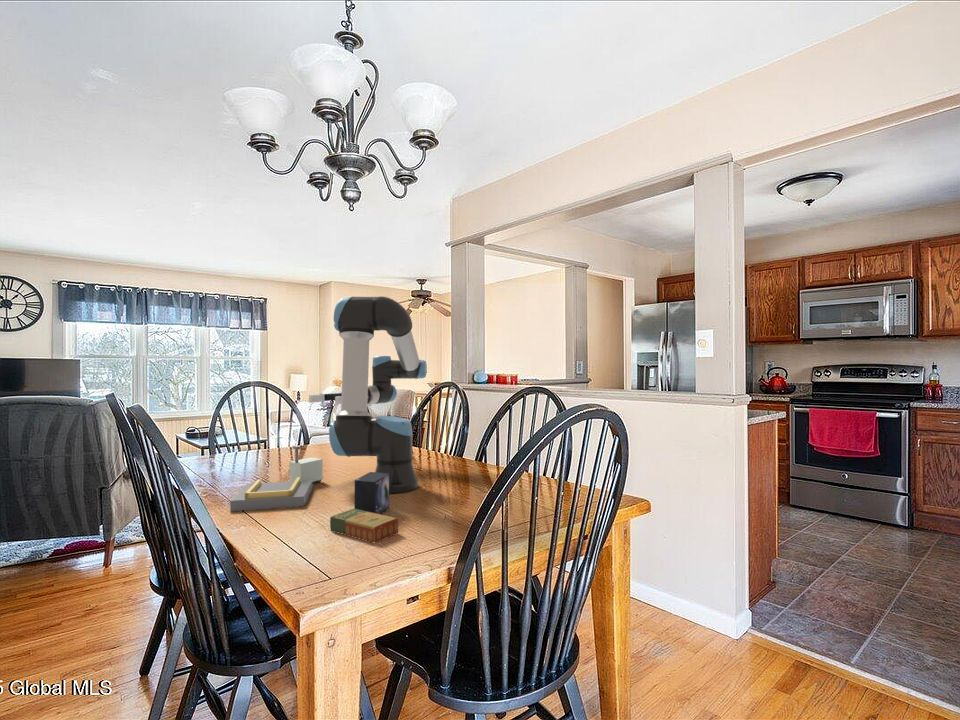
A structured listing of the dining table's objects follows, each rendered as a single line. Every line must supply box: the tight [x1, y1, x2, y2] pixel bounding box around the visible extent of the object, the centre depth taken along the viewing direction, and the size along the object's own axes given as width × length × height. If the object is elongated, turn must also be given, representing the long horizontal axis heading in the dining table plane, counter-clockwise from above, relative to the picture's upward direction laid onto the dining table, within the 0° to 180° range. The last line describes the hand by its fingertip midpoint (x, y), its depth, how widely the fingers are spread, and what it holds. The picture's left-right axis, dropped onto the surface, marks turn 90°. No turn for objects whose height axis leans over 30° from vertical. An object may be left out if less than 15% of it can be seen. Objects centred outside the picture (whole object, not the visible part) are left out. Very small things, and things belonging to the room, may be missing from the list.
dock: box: [229, 477, 313, 512], centre depth 159 cm, size 20×20×4 cm
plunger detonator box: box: [288, 445, 324, 484], centre depth 178 cm, size 6×9×14 cm, turn 146°
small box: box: [353, 471, 390, 515], centre depth 144 cm, size 11×6×10 cm, turn 168°
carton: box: [329, 508, 399, 543], centre depth 129 cm, size 8×16×4 cm, turn 55°
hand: (322, 399), depth 186 cm, fingers open, 13 cm apart
